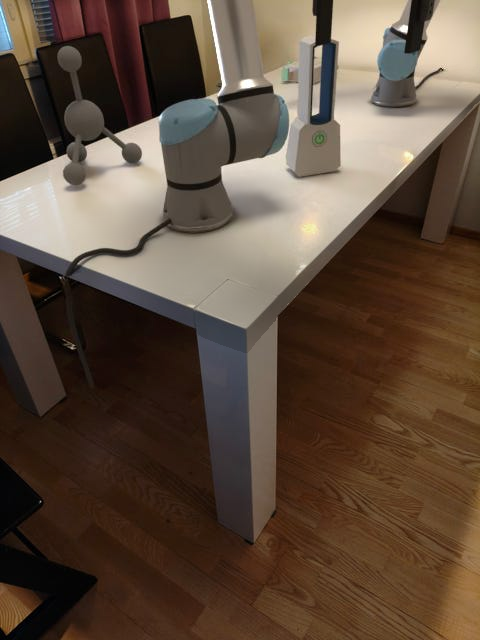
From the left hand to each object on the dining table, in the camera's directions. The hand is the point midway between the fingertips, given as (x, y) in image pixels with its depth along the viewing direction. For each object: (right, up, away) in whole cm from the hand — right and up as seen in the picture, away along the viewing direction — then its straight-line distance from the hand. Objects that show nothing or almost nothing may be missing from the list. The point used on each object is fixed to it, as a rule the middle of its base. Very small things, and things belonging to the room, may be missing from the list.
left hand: (364, 47), depth 65 cm
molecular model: (-54, +5, +69) cm, 88 cm away
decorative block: (+13, +67, +144) cm, 159 cm away
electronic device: (+2, +3, +61) cm, 62 cm away
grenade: (-21, +35, +105) cm, 112 cm away
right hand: (+1, +68, +84) cm, 108 cm away
